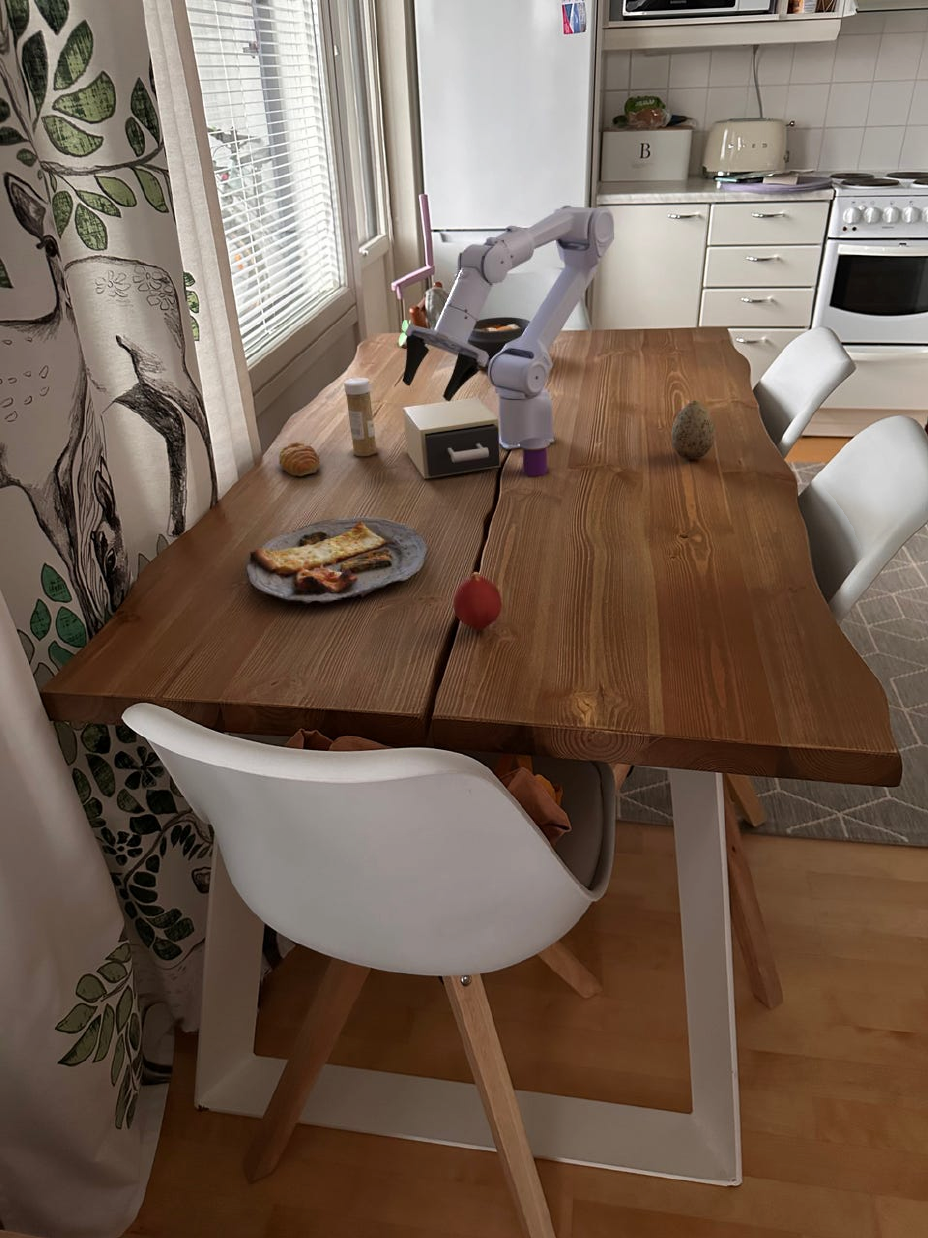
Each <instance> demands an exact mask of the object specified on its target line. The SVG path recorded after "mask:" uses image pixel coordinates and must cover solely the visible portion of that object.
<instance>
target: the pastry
mask: <svg viewBox="0 0 928 1238" xmlns="http://www.w3.org/2000/svg"><path fill="white" fill-rule="evenodd" d="M278 459H279V460H278V464H279V466H280V467H281V468H282V470H283V471H285V472H287V473H288V474H289V475H292V476H294V477H296V476H299V477H302V476H305V475H309V474H314V473H317V471H318V469H319V465H320V457H319V455H318V453H317V452H316V450H315V448H313V446H311V445H307V444H305V443H304V442H303V443H302V442H292V443H290V444H288V445H287V446H284V447H283V449H282V450H281V451H280V452H279V457H278Z"/></svg>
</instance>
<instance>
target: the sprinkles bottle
mask: <svg viewBox="0 0 928 1238" xmlns="http://www.w3.org/2000/svg"><path fill="white" fill-rule="evenodd" d="M343 386H344V387H343V388H344V393H345V395H346V402H347V403H346V404H347V413H348V421H349V429H350V436H351V437H350V438H351V440H352V441H351V442H352V449H353V450H352V453H353V455H355V456H357V457H369V456H372V455H375V454H376V453H377V452H378V447H377V441H376V429H375V424H374V414H373V409H372V399H371V382H370V379H368V378H365V377H356V378H355V377H354V378H350V379H347V380H345V381H344V383H343Z"/></svg>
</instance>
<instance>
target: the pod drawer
mask: <svg viewBox="0 0 928 1238" xmlns="http://www.w3.org/2000/svg"><path fill="white" fill-rule="evenodd" d="M425 443H426V455H427V467H428V475H429V476H430V477H431V476H437V475H443V474H450V473H456V472H463V471H469V470H475V469H482V468H488V467H495V466H500V467H501V458H500V459H499V446H500V443H499V436H498V427H497V426H490V425H483V426H476V427H469V428H463V429H456V430H449V431H442V432H435V433H429V434H425Z"/></svg>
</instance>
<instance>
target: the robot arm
mask: <svg viewBox="0 0 928 1238" xmlns="http://www.w3.org/2000/svg"><path fill="white" fill-rule="evenodd" d="M614 240H615V221H614V216H613V214H612V212H611V210H610V209H609V208H607V207H604V206H603V207H602V206H601V207H587V206H586V207H585V206H571V205H566V204H565V205H562V206H561V207H559V208H555V209H553V211H552V213H551V214H549V215H547V216H546V217H544V218H543V219H540V220H539V221H537V222H535V223H534V224H532V225H531V226H530V227H528V228H526V229H525V228H524V227H521V226H518V225H508V226H506V227H505V231H504V232H502V233H501V234H499V235H496V236H495V237H494V236H489V237H487V238H486V239H485V242H483V243H482V244H476V243H474V244H470V245H468V246H466V248H465V249H464V250H463V251H462V252H461V251H460V252H459V254H458V257H457V263H456V264H457V272H456V274H455V277H454V279H455V280H454V285H453V287H452V289H451V291H450V293H449V295H448V298H447V300H446V302H445V304H444V307H443V309H442V311H441V314H440V316H439V318H438V321H437V322H436V325H435V327H434V329H432V328H427V327H424V326H419V325H416V324H412V323H410V324H409V323H408V327H407V330H406V332H404V333H405V335H406V336H407V337H406V340H405V346H406V347H405V348H406V353H405V355H406V357H405V365H404V366H405V367H404V372H403V376H402V382H403V384H405V385H406V386H408V387H410V386H411V384H412V383H413V381H414V379H415V376H416V374H417V372H418V369H419V367H420V365H421V364H422V362H423V361H424V359H425V357H426V356H427V355H428V353H429V352H430V349H429V348H428V347H427V346H426V345H428V346H430V347H433V348H435V349H437V350H440V351H443V352H446V353H448V354H451V355H454V356H457V358H456V362H455V365H454V367H453V371H452V374H451V377H450V379H449V381H448V383H447V385H446V387H445V389H444V392H443V394H442V397H443V398H444V400H445V402H447V401H449V402H450V401H452V399H453V397H454V396H455V395H456V394H457V392H458V391H459V390H460V389H461V388H462V387H463V386H464V385H465V383H467V382H468V381H469V380H470V379H471V378H473V377H474V376H475V375H477V374H478V372H479V370H480V369H479V367H483V368H485V367H486V366H485V365H486V363H487V360H488V358H489V355H488V354H487V352H485V351H482V350H480V349H478V348H476V347H473V346H471V345H469V344H468V342H467V341H468V339H469V337H470V335H471V332H472V330H473V328H474V326H475V324H476V321H478V319H479V317H480V314H481V312H482V310H483V308H484V306H485V303H486V301H487V299H488V297H489V294H490V293H491V290H492V287H493V285H494V284H495V285H496V284H498V283H501V284H502V283H503V282H504V280H505V278H506V277H507V275H508V273H509V272H510V271H511V270H513V269H515V268H517V267H519V266H521V265H523V264H524V263H525V264H526V262H528V261H530V260H531V259H532V257H533V255H534V252H535V250H536V249H538V248H541V247H543V246H545V245H548V244H550V243H553V242H554V241H555V244H556V248H557V253H558V256H559V260H560V261H561V262H563V263H564V267H563V269H562V270H561V272H560V274H559V275H558V276H557V278H556V280H555V281H554V283H553V285H552V286H551V288H550V290H549V291H548V292H547V294H546V296H545V297H544V299H543V301H542V303H541V304H540V305H539V308H538V309H537V310H536V312H535V314H534V315H533V316H532V318H531V320H530V323H529V325H528V326H527V328H526V330H525V331H524V333H523V334H522V336H521V337H519V338H517V339H515V340H513V341H511V342H509V343H507V344H506V345H505V346H504V348H503V349H502V350H501V351H500V352H499V353H497V354H496V355H495V356H494V357H493V358H492V360H491V361H490V364H489V366H487V367H488V368H487V377H488V381H489V383H490V384H491V386H493V387H494V391H495V394H497V397H498V400H497V401H498V424H499V446H500V447H502V448H503V449H504V450H505V451H506V450H514V449H519V448H520V447H519V443H520V442H521V441H523V440H525V439H530V438H542V439H546V440H548V441H549V442H550V444H552V443H554V442H555V439H554V426H553V425H554V420H553V419H554V418H553V417H554V415H553V412H554V411H553V401H552V397H551V395H550V392H549V391H548V390H547V389H544V388H545V386H546V384H547V380H548V377H549V373H550V371H551V369H552V368H553V366H554V365H553V361H552V357H551V356H550V353H549V351H550V349H551V348H552V346H553V344H554V342H555V341H556V339H557V338H558V336H559V334H560V333H561V331H562V329H563V328H564V326H565V325H566V323H567V322H568V319H569V318H570V317H571V315H572V313H573V312H574V310H575V309H576V307H577V306H578V304H579V302H580V300H581V299H582V297H583V296H584V294H585V292H586V291H587V289H588V287H589V286H590V284H591V282H592V281H593V279H594V277H595V276H596V274H597V270H598V268H599V265H600V263H601V261H602V260H603V257H604V256H605V254H606V252H607V251H608V250H609V247H610V246H611V244H612V243H613V241H614ZM478 365H480V366H478ZM520 449H521V448H520Z"/></svg>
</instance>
